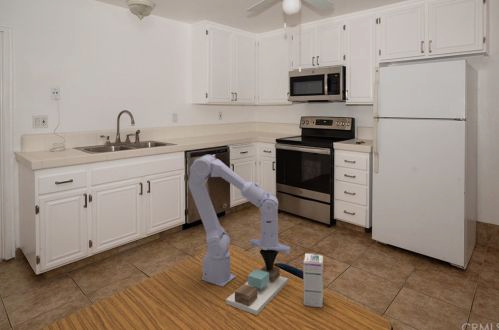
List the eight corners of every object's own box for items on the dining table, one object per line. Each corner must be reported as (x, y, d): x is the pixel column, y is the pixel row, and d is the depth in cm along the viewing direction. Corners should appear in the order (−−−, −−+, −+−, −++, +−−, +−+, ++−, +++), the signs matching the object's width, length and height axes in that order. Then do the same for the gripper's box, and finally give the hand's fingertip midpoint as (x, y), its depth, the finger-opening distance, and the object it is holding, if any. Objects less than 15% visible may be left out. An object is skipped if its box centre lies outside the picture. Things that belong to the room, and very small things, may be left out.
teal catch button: (248, 284, 103) (247, 275, 103) (256, 277, 107) (255, 268, 107) (261, 288, 101) (261, 279, 100) (269, 281, 105) (269, 272, 104)
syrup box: (322, 308, 96) (323, 262, 94) (302, 305, 97) (303, 260, 95) (322, 297, 101) (324, 254, 99) (304, 295, 103) (304, 252, 100)
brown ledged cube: (234, 301, 97) (234, 291, 97) (243, 293, 101) (243, 283, 101) (248, 306, 95) (248, 296, 94) (257, 297, 99) (257, 288, 98)
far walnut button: (259, 278, 110) (259, 270, 109) (266, 272, 114) (266, 264, 113) (272, 282, 107) (272, 273, 107) (279, 276, 111) (279, 267, 111)
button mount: (226, 303, 99) (225, 293, 98) (260, 274, 116) (260, 265, 116) (256, 315, 93) (256, 304, 92) (287, 282, 110) (288, 273, 110)
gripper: (244, 231, 108) (245, 268, 111) (283, 239, 101) (283, 279, 103) (255, 224, 114) (256, 260, 116) (293, 232, 107) (292, 270, 109)
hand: (269, 268), depth 110 cm, fingers closed, pressing on far walnut button
